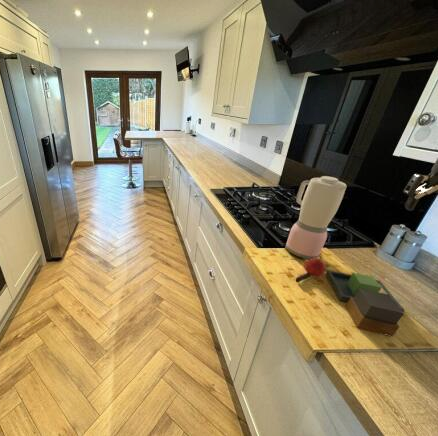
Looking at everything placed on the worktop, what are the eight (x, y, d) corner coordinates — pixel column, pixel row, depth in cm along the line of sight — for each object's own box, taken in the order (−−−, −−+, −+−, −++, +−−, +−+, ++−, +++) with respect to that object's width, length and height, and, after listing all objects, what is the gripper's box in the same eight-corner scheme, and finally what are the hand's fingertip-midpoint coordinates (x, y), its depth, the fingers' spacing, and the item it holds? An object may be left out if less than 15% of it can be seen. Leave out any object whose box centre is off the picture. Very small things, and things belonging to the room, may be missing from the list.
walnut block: (376, 314, 70) (383, 304, 68) (392, 336, 63) (399, 326, 61) (345, 306, 72) (350, 297, 70) (356, 327, 65) (363, 317, 63)
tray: (377, 285, 81) (380, 280, 80) (400, 315, 70) (404, 310, 69) (325, 274, 85) (327, 270, 85) (339, 301, 74) (342, 295, 73)
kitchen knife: (297, 283, 80) (299, 278, 79) (294, 281, 81) (296, 277, 80) (327, 269, 88) (329, 265, 87) (324, 267, 89) (326, 263, 88)
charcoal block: (382, 305, 67) (389, 294, 66) (396, 324, 62) (404, 313, 60) (353, 298, 69) (359, 288, 68) (364, 316, 63) (371, 305, 62)
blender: (325, 258, 95) (360, 182, 81) (304, 264, 91) (336, 184, 77) (291, 239, 108) (316, 170, 94) (271, 243, 104) (294, 172, 90)
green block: (365, 288, 79) (372, 276, 77) (374, 299, 74) (381, 287, 72) (346, 284, 80) (352, 272, 78) (353, 295, 76) (360, 283, 73)
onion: (322, 283, 81) (331, 264, 78) (303, 278, 83) (311, 260, 79) (318, 273, 86) (326, 255, 83) (300, 269, 88) (307, 251, 84)
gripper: (437, 155, 60) (404, 213, 67) (513, 161, 56) (470, 221, 63) (417, 151, 67) (389, 203, 74) (485, 156, 63) (448, 211, 70)
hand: (426, 212), depth 69 cm, fingers open, 8 cm apart
